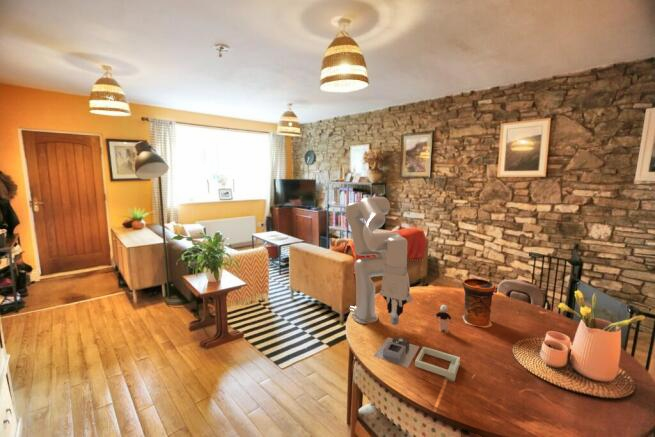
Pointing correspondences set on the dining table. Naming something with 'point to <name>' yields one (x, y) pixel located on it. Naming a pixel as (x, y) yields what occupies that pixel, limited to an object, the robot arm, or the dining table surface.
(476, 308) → the vessel
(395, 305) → the pin
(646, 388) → the dining table surface
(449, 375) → the rectangular frame
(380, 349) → the tensioner block
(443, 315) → the grandmother figurine
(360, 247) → the robot arm
